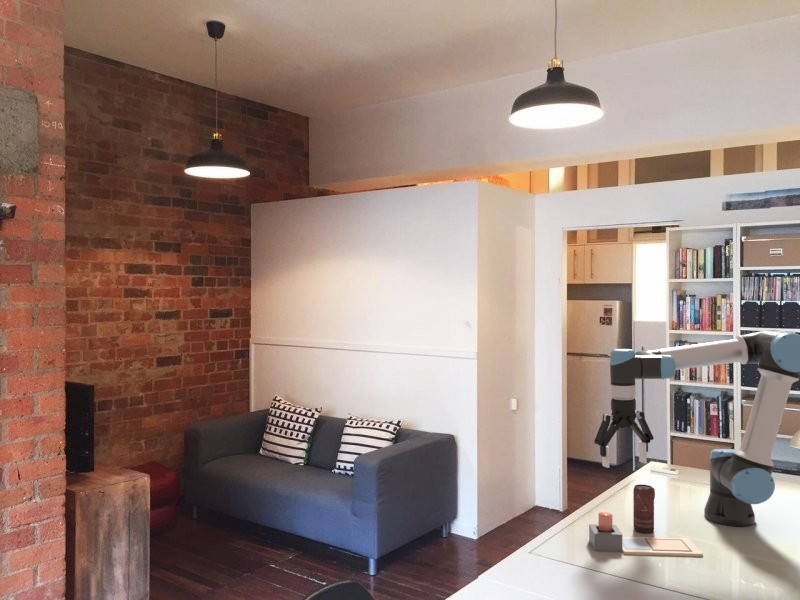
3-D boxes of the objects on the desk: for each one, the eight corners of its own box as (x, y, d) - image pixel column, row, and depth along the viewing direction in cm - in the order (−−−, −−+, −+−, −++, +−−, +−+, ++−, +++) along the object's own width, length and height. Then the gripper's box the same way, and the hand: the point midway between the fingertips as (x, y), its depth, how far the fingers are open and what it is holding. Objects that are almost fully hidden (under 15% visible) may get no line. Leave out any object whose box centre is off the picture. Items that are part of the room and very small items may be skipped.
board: (688, 540, 202) (688, 537, 202) (703, 556, 191) (703, 553, 190) (614, 538, 204) (614, 535, 204) (624, 554, 192) (624, 551, 192)
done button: (610, 527, 201) (610, 512, 200) (613, 531, 197) (613, 516, 197) (597, 526, 201) (597, 511, 201) (599, 531, 197) (599, 516, 197)
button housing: (616, 541, 202) (616, 524, 202) (622, 551, 194) (622, 534, 194) (589, 540, 203) (589, 524, 203) (594, 550, 195) (594, 533, 195)
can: (656, 534, 208) (656, 489, 208) (635, 533, 209) (635, 488, 209) (653, 527, 214) (653, 484, 214) (632, 526, 215) (632, 483, 215)
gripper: (649, 393, 218) (650, 458, 219) (582, 398, 211) (583, 465, 212) (664, 396, 211) (665, 463, 211) (595, 402, 204) (596, 471, 204)
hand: (624, 464), depth 212 cm, fingers open, 13 cm apart
